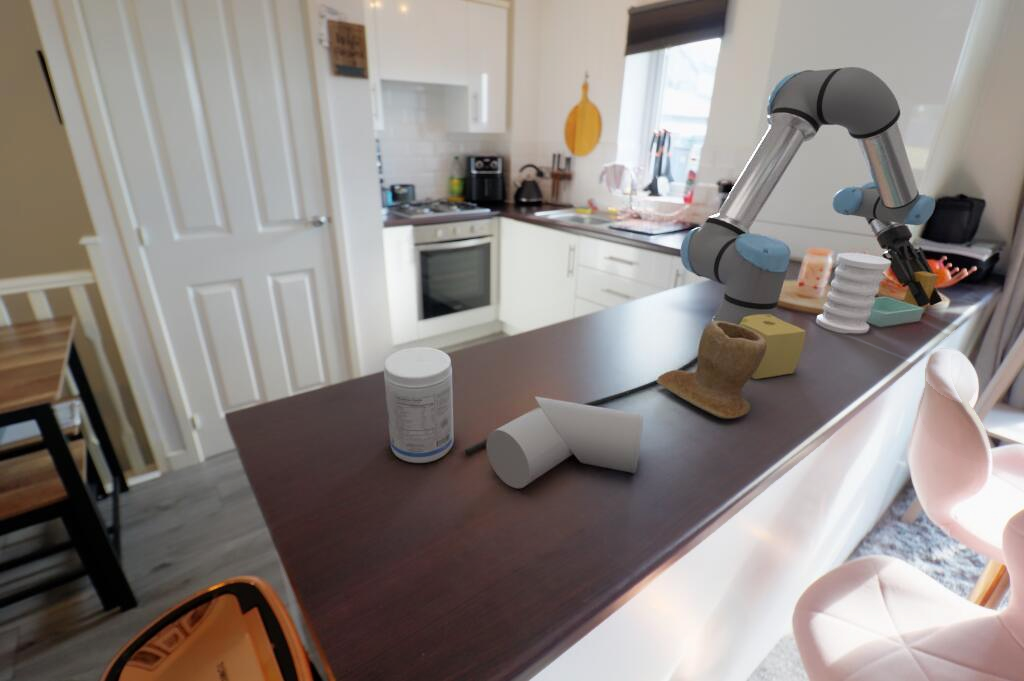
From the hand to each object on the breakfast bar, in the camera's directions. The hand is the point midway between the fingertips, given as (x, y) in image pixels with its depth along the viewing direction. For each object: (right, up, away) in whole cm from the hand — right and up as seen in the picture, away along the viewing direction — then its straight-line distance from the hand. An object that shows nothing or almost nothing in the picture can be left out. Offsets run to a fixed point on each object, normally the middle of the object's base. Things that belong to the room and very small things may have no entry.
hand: (930, 303), depth 131 cm
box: (-14, -4, -1) cm, 15 cm away
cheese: (-63, -16, -29) cm, 71 cm away
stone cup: (-79, -21, -43) cm, 92 cm away
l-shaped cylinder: (-106, -28, -61) cm, 125 cm away
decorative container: (-29, -6, -6) cm, 30 cm away
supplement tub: (-128, -26, -57) cm, 143 cm away
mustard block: (-1, -2, +5) cm, 5 cm away
